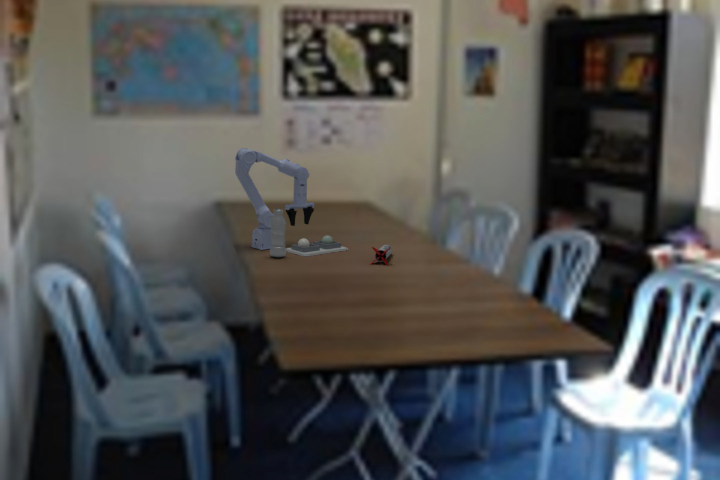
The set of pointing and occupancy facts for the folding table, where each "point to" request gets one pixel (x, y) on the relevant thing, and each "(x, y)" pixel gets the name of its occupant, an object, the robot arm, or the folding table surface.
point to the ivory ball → (303, 243)
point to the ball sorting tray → (316, 248)
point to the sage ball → (327, 240)
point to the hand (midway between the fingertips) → (299, 224)
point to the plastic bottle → (278, 234)
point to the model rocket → (382, 253)
